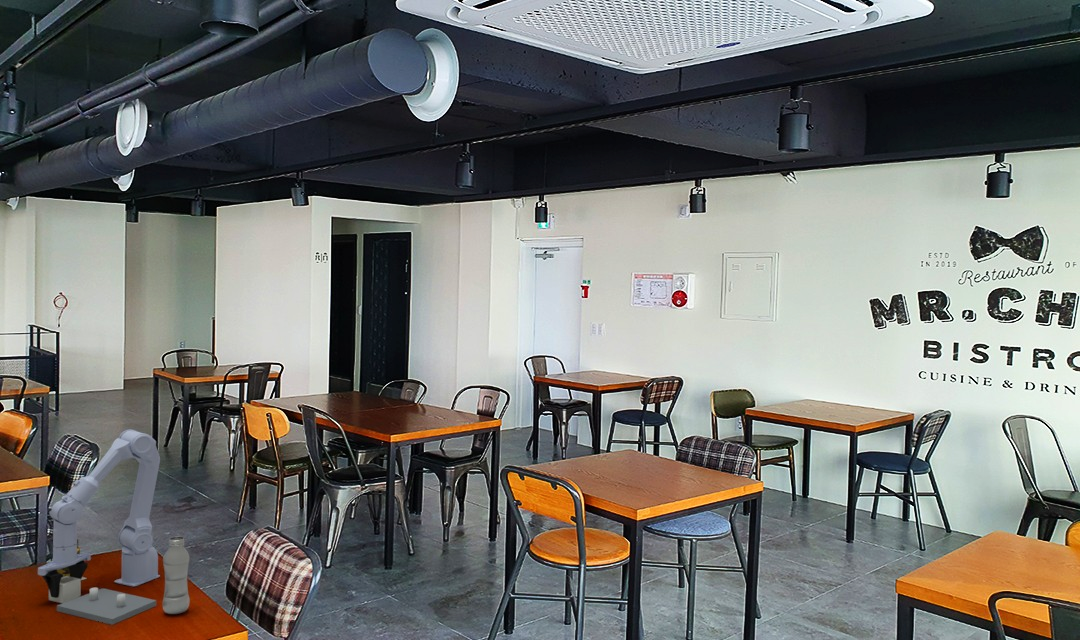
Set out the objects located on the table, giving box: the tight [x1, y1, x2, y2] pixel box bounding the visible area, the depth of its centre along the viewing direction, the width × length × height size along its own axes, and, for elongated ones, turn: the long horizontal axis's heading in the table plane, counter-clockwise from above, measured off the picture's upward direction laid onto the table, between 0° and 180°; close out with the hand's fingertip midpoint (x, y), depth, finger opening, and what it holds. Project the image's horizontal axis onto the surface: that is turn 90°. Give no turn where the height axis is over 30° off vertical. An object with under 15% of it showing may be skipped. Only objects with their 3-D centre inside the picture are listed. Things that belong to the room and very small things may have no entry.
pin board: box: [56, 587, 157, 626], centre depth 220 cm, size 14×20×4 cm
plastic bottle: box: [161, 536, 191, 615], centre depth 219 cm, size 6×7×20 cm
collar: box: [48, 576, 82, 604], centre depth 226 cm, size 5×5×5 cm
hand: (64, 593), depth 226 cm, fingers closed on collar, 5 cm apart
